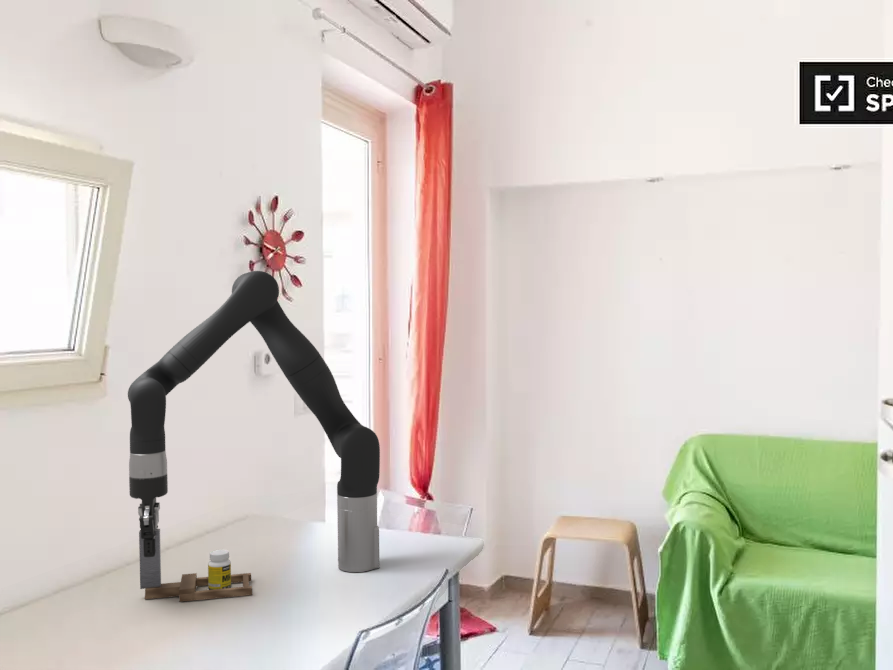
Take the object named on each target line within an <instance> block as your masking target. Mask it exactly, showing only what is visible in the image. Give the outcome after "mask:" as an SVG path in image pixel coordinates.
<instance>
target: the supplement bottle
mask: <svg viewBox="0 0 893 670" xmlns="http://www.w3.org/2000/svg"><path fill="white" fill-rule="evenodd" d="M229 558H230V551H229V550H228V549H216V550H213V551H210V552H209V560H210V561H209V562H208V564H207V577H208V585H207V587H208V588H207V590H213V589H224V588H232V583H231V575H232V562H231V560H230V559H229Z"/></svg>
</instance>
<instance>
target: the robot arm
mask: <svg viewBox="0 0 893 670" xmlns="http://www.w3.org/2000/svg"><path fill="white" fill-rule="evenodd" d="M279 296H280V287H279V284H278V282H277V280H276V278H275V277H274V276H273V275H271V274H270V273H268V272H266V271H263V270H253V271H252V270H251V271H248V272H245V273H242V274H240V275H239V276H238V277H237V278H236V279H235V280H234V281H233V285H232V287H231V294H230V296H229V297H228V298H227V299H226V301H224V303H223V304H221V306H220V307H219V308H217V310H216V311H214V312H213V313H212V314H211V315H210V316H209V317H208V318H206V319H205V320H203V321H202V322H201V323H200V324H198V325H197V326H196V327H194V328H193V329H191V331H189V332H188V333H186V335H185V336H183V337H182V338H181V339H180V340H178V342H177V343H175V344H174V345H173V346H172V347H171V348H170V349H168V350H167V352H166V353H165V354H164V355H163V356H162V357H161V358H160V359H159V360H158V361H156V362H155V363H154V364H152V365H151V366H150V367H149V368H147V370H145V371H144V372H143V373H141V374H140V375H139V376H138V377H136V379H135V380H134V381H132V382H131V384H130V386H129V388H128V390H127V399H128V402H129V405H130V419H131V427H130V431H129V460H128V476H129V477H128V478H129V479H128V481H129V482H128V483H129V485H128V486H129V496H130V498H132V499H135V500H137V499H140V500H141V503H139V506H137V507H138V508H137V510H138V511H137V513H138V516H139V518H138V521H139V528H140V530H141V538H142V539H143V542H144V557H154V556H155V537H156V535H155V529H159V525H158V524H159V522H160V515H159V514H160V509H161V505H160V504H161V503H160V502H157V498H162V497H164V496H166V495H167V494H168V492H169V491H168V489H169V488H168V484H169V483H168V482H169V481H168V458H167V452H166V430H165V429H166V428H165V424H166V423H165V422H166V409H167V396H168V394H170V393H171V392H172V391H173V389H175V388H177V386H178V385H179V384H181V383H184V382H186V381H187V380H188V379H189V378H190V377H192V375H194V374H195V373H196V372H197V370H199V369H200V368H201V367H202V366H203V365H204V364H205V363H206V362H208V360H210V358H211V357H213V355H215V354H216V352H218V350H219V349H220V348H221V347H223V345H225V343H226V342H227V341H229V339H231V337H233V336H234V335H235V334H236V333H238V332H239V331H240V330H242V328H244V327H245V326H246V325H247V324H249V323H251V325H252V326H253V327H254V328H255V329H256V330H257V332H258V333H259V335H260V336H261V338H262V339H263V341H264V343H265V344H266V346H267V348H268V350H269V352H270V353H271V355H272V357H273V359H274V361H275V362H276V363H277V365H278V367H279V368H280V370H281V371H282V373H283V375H284V376H285V378H286V379H287V381H288V383H289V384H290V386H291V387H292V388H293V390H294V391H295V392H296V394H297V395H298V396H299V398H300V399H301V400H302V401H303V403H304V404H305V405H306V407H307V408H308V409H309V410H310V411H311V413H312V415H314V416H315V418H316V420H318V422H319V424H320V425H321V427H322V429H323V431H324V433H325V434H326V436H327V438H328V440H329V443H330V445H331V447H332V448H333V450H334V453H336V455H337V456H338V457H339V459H340V478H339V480H338V481H337V486H336V493H337V495H336V497H337V499H336V501H337V502H336V503H337V505H336V506H337V511H336V512H337V513H336V514H337V566H338V569H339V570H340V571H343V572H347V573H349V572H350V573H363V572H369V571H372V570H374V569H379V568H380V527H379V525H378V484H379V481H380V474H381V473H380V471H381V470H380V467H381V465H380V464H381V461H380V460H381V450H380V449H381V448H380V446H381V445H380V442H379V440H380V439H379V438H378V435H377V433H375V432H374V431H373V430H372V429H370V428H369V427H367V426H365V425H362V423H361V422H360V421H358V419H357V418H356V417H355V415H354V414H353V413H352V411H350V409H349V407H348V406H347V405H346V403H345V402H344V400H343V398H342V395H341V394H340V390H339V388H338V385H337V382H336V380H335V377H334V376H333V372H332V371H331V369H330V368H329V366H328V364H327V363H326V361H325V359H324V358H323V357H322V355H321V353H320V352H319V351H318V349H317V348H316V347H315V346H314V344H313V343H312V342H311V341H310V340H309V339H308V338H307V337H306V335H305V334H303V333H302V331H301V330H299V328H297V327H296V326H295V324H294V323H293V322H292V321H291V320H290V319H289V318H288V316H287V314H286V312H285V311H284V309H283V307H281V305H280V303H279V301H278V299H279ZM145 531H151V532H149V533H145Z"/></svg>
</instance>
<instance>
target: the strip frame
mask: <svg viewBox="0 0 893 670" xmlns="http://www.w3.org/2000/svg"><path fill="white" fill-rule="evenodd" d="M149 532H151V531H145V533H149ZM155 535H156V537H155V556H154V557H144V542H143V539H142V538H141V529H140V530H139V531H138V537H139V539H138V544H139V546H138V547H139V551H138V553H139V582H140V584H139V585H140V587H139V589H140V590H143V589H144V599H145V600H149V599H150V600H151V599H152V600H153V599H162V598H163V599H164V598H173V597H178V598H179V599H178V600H179V603H181V602H190V601H200V600H202V601H203V600H211V599H214V600H215V599H223V598H233V597H246V596H253V586H252V585H250V582H252V573H251V572H246V573H245V572H244V573H235V574H231V584H237V583H242V586H235V587H231V588H224V589H213V590H208V589H204V590H203V589H202V590H197V587H202V586H208V576H201V577H199V576H197V575H198V573H197V572H196V573H195V572H194V573H184V574H181V578H180V581H177V582H165V583H162V564H161V563H162V561H161V559H162V558H161V556H162V555H161V553H162V552H161V528H157V529H155Z"/></svg>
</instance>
